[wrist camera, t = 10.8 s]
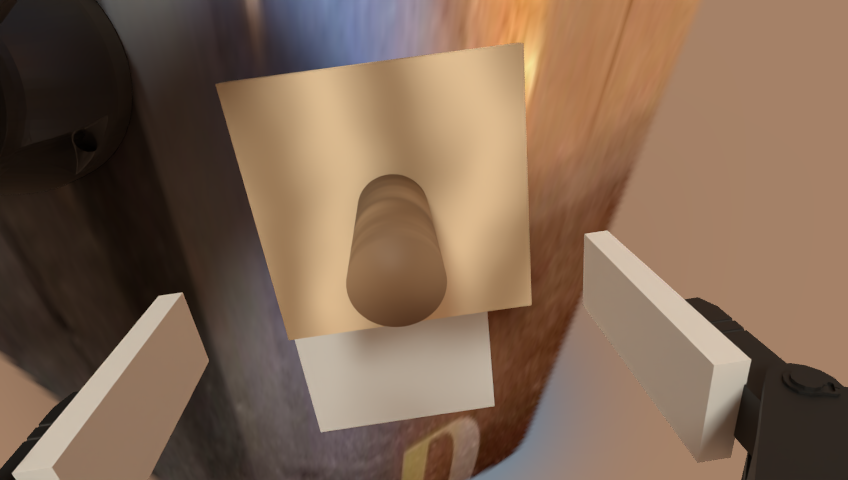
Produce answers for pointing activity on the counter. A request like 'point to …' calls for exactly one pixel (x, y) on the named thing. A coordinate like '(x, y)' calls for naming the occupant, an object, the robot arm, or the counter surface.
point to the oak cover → (388, 187)
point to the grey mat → (399, 371)
